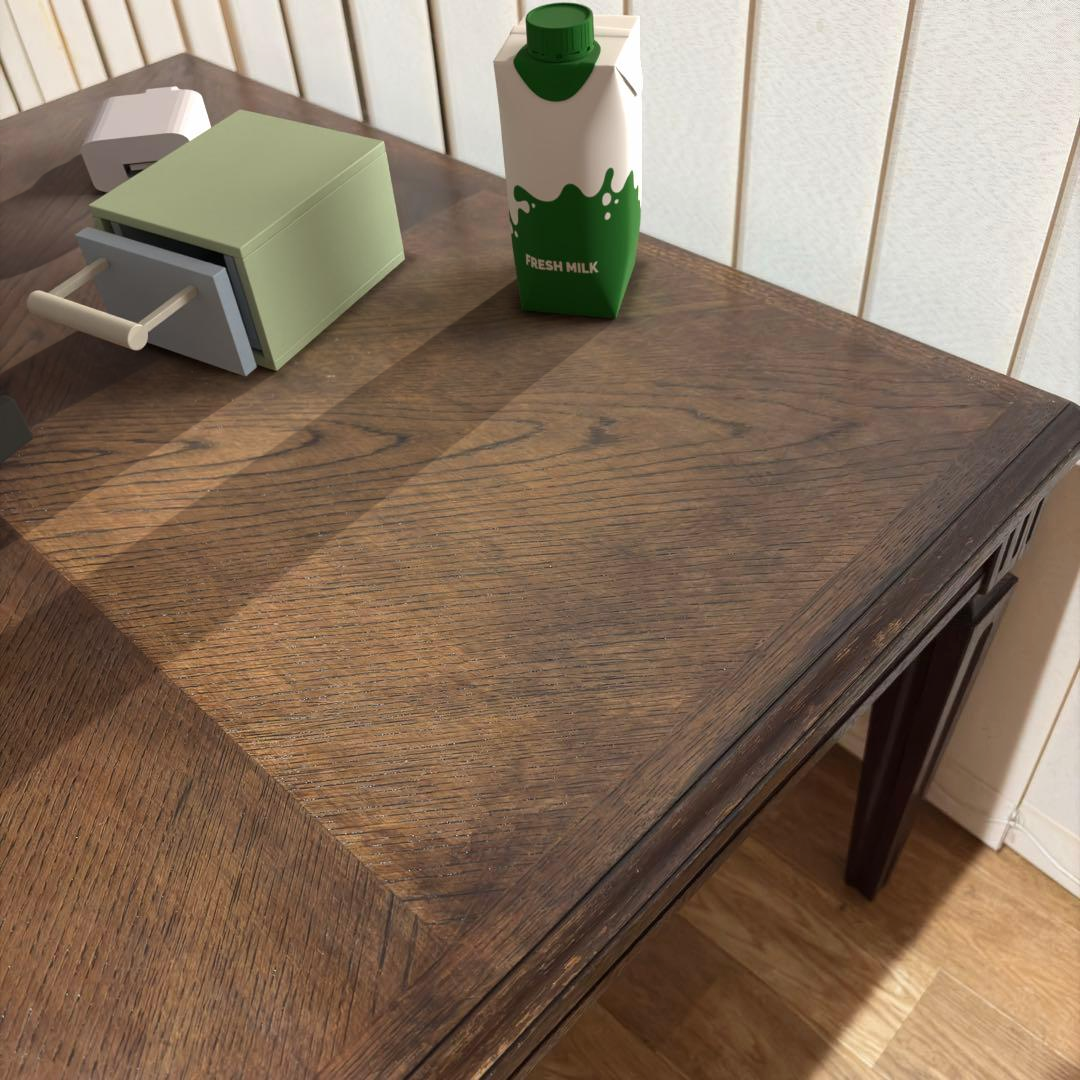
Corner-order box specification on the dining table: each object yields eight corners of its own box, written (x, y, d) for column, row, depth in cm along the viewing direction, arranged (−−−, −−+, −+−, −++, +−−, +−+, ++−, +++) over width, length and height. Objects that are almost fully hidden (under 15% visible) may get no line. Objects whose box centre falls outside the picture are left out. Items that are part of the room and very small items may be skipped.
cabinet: (276, 371, 74) (239, 248, 67) (135, 323, 79) (87, 205, 72) (405, 259, 83) (384, 140, 76) (270, 222, 88) (239, 108, 81)
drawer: (181, 432, 68) (140, 331, 63) (48, 380, 73) (-1, 282, 68) (372, 269, 80) (352, 171, 75) (247, 234, 85) (219, 140, 79)
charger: (221, 109, 104) (202, 183, 93) (126, 119, 104) (97, 194, 93) (207, 59, 100) (186, 131, 90) (109, 69, 100) (76, 143, 90)
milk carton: (506, 317, 76) (476, 28, 62) (537, 249, 82) (516, -28, 68) (626, 328, 75) (624, 33, 60) (649, 258, 80) (652, -25, 66)
